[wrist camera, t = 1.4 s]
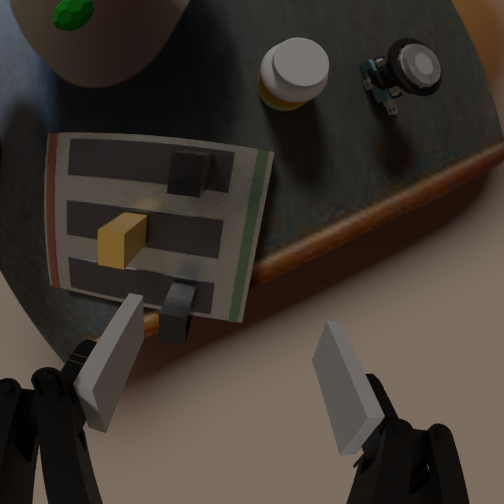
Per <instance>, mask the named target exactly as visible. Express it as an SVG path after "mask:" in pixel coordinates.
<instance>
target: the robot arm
mask: <svg viewBox="0 0 504 504" xmlns="http://www.w3.org/2000/svg"><path fill="white" fill-rule="evenodd" d="M143 340H144V316H143V296H142V295H137V294H131V293H129V294H128V296H127V297H126V299H125V300H124V302H123V303H122V305H121V306H120V308H119V309H118V311H117V313H116V314H115V316H114V317H113V319H112V320H111V322H110V323H109V325H108V326H107V328H106V330H105V331H104V333H103V334H102V336H101V338H100V339H99V341H98V342H95V341H91V340H88V339H86V340H85V341H83V342H82V343H80V344H79V345H78V346H77V347H76V349H75V350H74V352H73V354H72V355H71V356H70V358H69V360H68V361H67V362H66V364H65V365H64V367H63V368H62V370H61V372H60V371H58V370H57V369H55V368H51V367H45V368H41V369H39V370H37V371H36V372H35V373H34V374H33V375H32V378H31V382H32V384H33V386H34V389H35V390H31V389H22V388H21V386H20V384H19V383H18V382H17V381H16V380H14V379H12V378H5V379H1V380H0V504H32V501H33V489H34V478H35V469H36V462H37V455H38V449H39V445H40V454H41V463H42V470H43V477H44V483H45V489H46V494H47V499H48V504H103V503H102V500H101V496H100V493H99V490H98V486H97V483H96V479H95V476H94V472H93V468H92V464H91V460H90V456H89V451H88V447H87V442H86V437H85V432H84V430H83V426H84V424H85V422H86V421H87V424H88V426H89V428H92V429H95V430H99V431H101V432H105V433H106V432H107V429H108V426H109V423H110V421H111V418H112V415H113V413H114V410H115V407H116V405H117V402H118V400H119V397H120V395H121V392H122V390H123V387H124V384H125V382H126V380H127V377H128V375H129V373H130V370H131V368H132V365H133V363H134V361H135V358H136V356H137V354H138V351H139V349H140V347H141V344H142V342H143ZM312 361H313V364H314V367H315V371H316V374H317V377H318V381H319V384H320V387H321V391H322V394H323V398H324V401H325V405H326V408H327V412H328V415H329V418H330V422H331V425H332V429H333V433H334V436H335V440H336V443H337V447H338V450H339V454H340V455H349V454H356V453H357V452H358V450H359V449H360V448H361V447H362V449H363V452H364V453H363V455H362V456H361V457H360V458H359V459H358V460H357V462H356V463H355V464H354V466H353V467H356V466H357V465H358V468H357V471H356V475H355V478H354V482H353V485H352V488H351V491H350V494H349V497H348V500H347V504H469V499H468V494H467V489H466V485H465V480H464V476H463V472H462V468H461V464H460V460H459V456H458V453H457V449H456V446H455V443H454V439H453V436H452V433H451V431H450V429H449V428H448V427H446V426H445V425H443V424H439V423H437V424H433V425H432V426H431V427H430V428H429V429H428V430H427V431H426V430H418V429H413V428H412V426H411V424H410V423H408V422H407V421H405V420H403V419H399V418H398V416H397V414H396V412H395V410H394V408H393V406H392V404H391V402H390V400H389V398H388V396H387V394H386V392H385V390H384V388H383V386H382V384H381V382H380V380H379V379H378V378H377V377H376V376H375V375H374V374H365V373H364V371H363V369H362V367H361V364H360V362H359V360H358V358H357V356H356V354H355V352H354V350H353V348H352V346H351V344H350V342H349V340H348V338H347V336H346V334H345V332H344V330H343V328H342V326H341V324H340V322H335V321H326V324H325V326H324V330H323V332H322V335H321V338H320V340H319V343H318V346H317V349H316V351H315V354H314V356H313V359H312ZM427 465H428V467H429V470H428V467H427Z"/></svg>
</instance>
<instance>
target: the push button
mask: <svg viewBox="0 0 504 504" xmlns="http://www.w3.org/2000/svg"><path fill="white" fill-rule="evenodd" d="M400 48H403V49H402V50H401V51H399V49H400ZM398 51H399V52H398ZM359 67H360V69H361V71H362V72H363V74H364V76H365V78H366V80H364V81H363V84H364V86H365V88H366V90H369V89H371V91H372V93H373V95H374V97H375V99H376V101H377V103H381V102H382V103H383V105H384V107H386V109H387V112H388V114H389V115H392V114H393V115H394V114H397V113H398V110H397V107H396V105H395V103H396V102H395V100H394V98H397V97H400V96H402V92H401V91H405V92H407V93H409V94H415V95H419V96H427V95H431V94H433V93H435V92H436V91H437V90H438V88H439V87H440V84H441V80H442V73H441V68H440V65H439V62H438V59H437V58H436V56H435V55H434V53H433V52H432V51H431V50H430V49H429V48H428V47H427V46H426V45H425V44H424V43H422V42H420V41H419V40H416V39H413V38H402V39H399V40H397V41H396V42H395V43H394V44H393V45H392V46H391V48H390V49H389V50H388V55H387V58H385V57H384V56H382V57H378V58H374V59H371V60H367V61H366V62H364V63H362V64H360V65H359ZM365 83H366V84H367V85H368V87H367V86H366V84H365ZM420 86H422V87H423V88H422V89H420V88H417V87H420ZM393 108H395V109H396V110H395V111H394V110H393ZM389 109H391V112H390V111H389Z"/></svg>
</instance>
